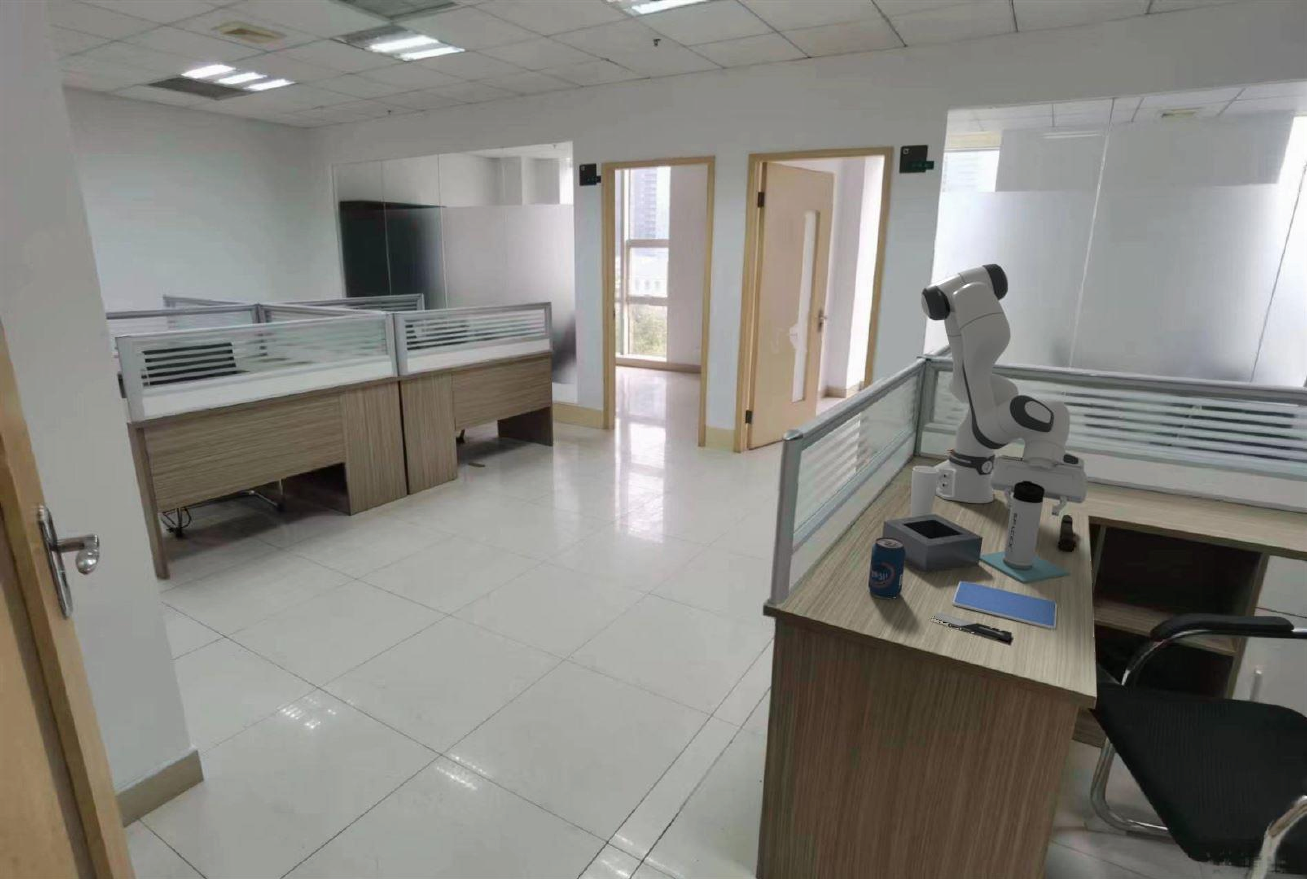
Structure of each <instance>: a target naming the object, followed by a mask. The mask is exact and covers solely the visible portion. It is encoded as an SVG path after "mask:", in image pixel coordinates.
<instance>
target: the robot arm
mask: <svg viewBox="0 0 1307 879" xmlns="http://www.w3.org/2000/svg"><path fill="white" fill-rule="evenodd" d="M1008 292H1009V280H1008V276H1007V273H1006V272H1005V271H1004V270H1003V268H1002V266H1001V265H999V264H997V263H990V264H983V265H982V266H979V267H975V268H970V269H967V270H964V271H960V272H957V273H956V274H954V275H951V276H948V277H946V278H944V279H942V280H939V281H937V282H932V283H930V284H929V285H927V286H926V287H924V288H923V290H922V291H921V298H920V299H921V301H920V303H921V308H922V310H923V312H924V313H925V314H926V316H927V317H928V319H930V320H932V321H935V322H936V321H943V323H944V327H945V328H944V329H945V333H946V337H947V341H948V344H949V348H950V349H949V350H950V354H951V357H952V375H951V377H950V379H949V381H948V386H949V388H948V389H949V391H950V393H951V394H952V395H953V396H954V397H955V398H956V399H957V400H958V401H960V402H962V403H964V404H966V405H968V409H967V412H966V415H965V417H964V418H963V420H962V421H960V422H959V423H958V425H957V426H956V434H955V440H954V442H955V443H954V448H953V449H947V450H946V451H947V452H946V454H949V457H948V459H946V460H944V461H942V462H941V463H938V464H937V465H935V466H932V467H933V468H936V469H938V470H939V477H938V485H937V490H936V494H935V496H936V495H937V496H938V497H940V498H941V499H943V500H947V501H948V500H949V501H957V502H962V503H968V504H969V503H970V504H971V503H972V504H987V503H990V502H993V501H994V490H995V491H1002V492H1004V496H1005V499H1006V500H1007V501H1006V508H1009V509H1011V505H1012V499H1013V497H1012V493H1013V494H1014V487H1015V484H1016V483H1019V482H1023V481H1031V482H1032V483H1035V484H1038V485H1040V486H1042V487H1043V488H1044V490H1045V491H1044V497H1043V499H1048V500H1049V499H1050V500H1054V501H1055V500H1056V501H1059V503H1058V505H1052V509H1051V510H1052V511H1051V515H1052V516H1056V517H1059V516H1060V511H1061V510H1062V509H1063V508H1065V507H1066V506H1067V503H1074V504H1079V505H1081V504H1082V503H1084V502H1085V501H1086V498H1087V490H1088V489H1087V488H1088V485H1087V484H1088V483H1087V482H1088V481H1087V480H1088V478H1087V473H1086V471H1085V460H1084V459H1083V458H1081V457H1079V456H1076V455H1074V454H1070V453H1068V452H1066V448H1065V445H1066V443H1067V442H1068V440H1069V434H1070V429H1071V428H1070V427H1071V416H1070V411H1069V409H1068V407H1067V406H1066V405H1065V404H1064V403H1062V402H1061V401H1058V400H1056V399H1050V398H1049V399H1043V400H1038V399H1035V398H1034V397H1032V396H1028V395H1025V394H1024V395H1023V394H1020V395H1019V389H1018V387H1017V385H1016V384H1015V383H1013V381H1011V380H1010V379H1008V378H1007V377H1006V376H1003V375H1000V374H998V373H993V372H992V370H993V368H994V366H995V364H996V363H997V361H998V360H999V358H1000V357H1001V355H1003V353H1004V352H1005V351H1006V349H1007V348H1008V346H1009V343H1010V341H1011V328H1010V324H1009V322H1008V319H1007V318H1008V317H1007V316H1006V314H1005V311H1004V309H1003V307H1002V305H1001V303H1000V301H1001V300H1002V299H1004V298H1005V296H1006V295H1007V293H1008ZM1019 439H1021V440H1023V441H1024V448H1023V453H1022V455H1021V456H1022V457H1020V456H1008V455H1007V454H1006V455H1004V454H1003V455H1001V456H997V457H996V454H995V450H1000V449H1002V448H1005V447H1006V446H1008V445H1010V443H1012V442H1015V441H1016V440H1019Z"/></svg>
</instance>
